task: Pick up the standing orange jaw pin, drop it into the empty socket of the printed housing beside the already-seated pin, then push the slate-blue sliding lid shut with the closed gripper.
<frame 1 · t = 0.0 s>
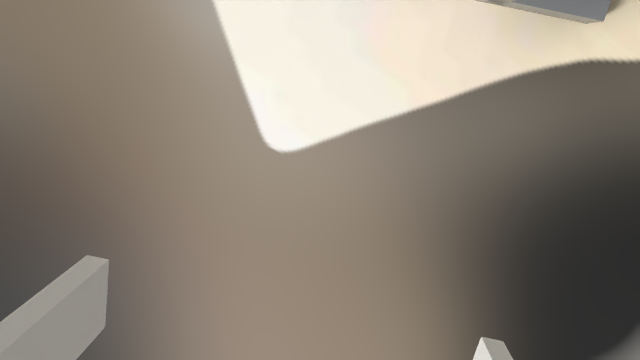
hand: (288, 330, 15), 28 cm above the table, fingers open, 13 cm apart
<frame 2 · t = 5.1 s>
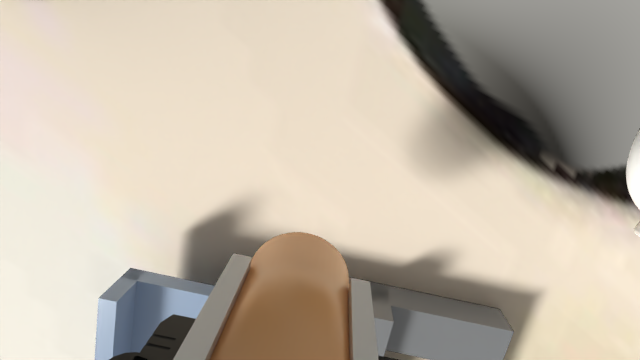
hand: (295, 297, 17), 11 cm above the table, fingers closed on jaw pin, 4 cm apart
jaw pin: (298, 278, 18), point 9 cm above the table, touching gripper
housing: (357, 356, 30), on the table
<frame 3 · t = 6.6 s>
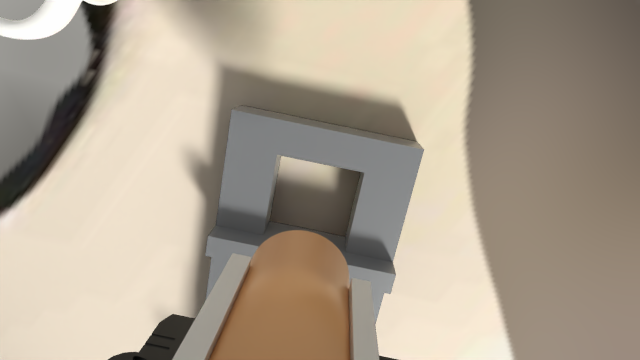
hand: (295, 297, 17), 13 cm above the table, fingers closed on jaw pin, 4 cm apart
jaw pin: (298, 276, 18), point 12 cm above the table, touching gripper
housing: (305, 237, 30), on the table
when the fingers open (3 cm above the table, at t = 8.6 s): jaw pin drops 2 cm, resting in housing.
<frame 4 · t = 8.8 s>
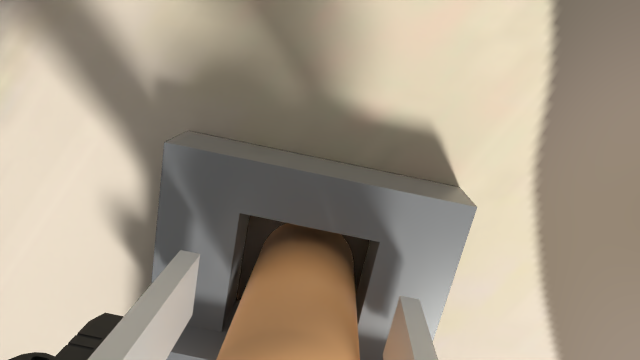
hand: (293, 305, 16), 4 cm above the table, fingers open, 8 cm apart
jaw pin: (306, 263, 20), resting in housing
housing: (289, 323, 21), on the table
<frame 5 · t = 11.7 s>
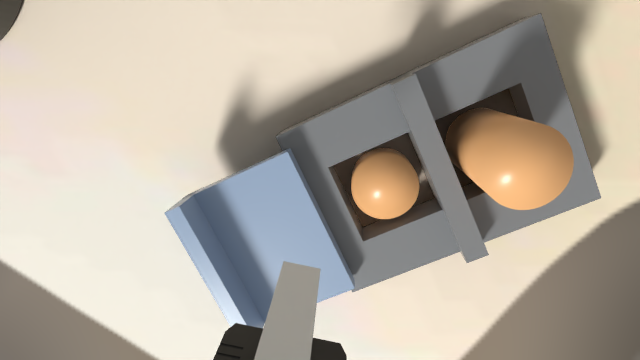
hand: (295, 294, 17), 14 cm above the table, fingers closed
jaw pin: (478, 140, 28), resting in housing
housing: (429, 158, 29), on the table
lid: (266, 248, 27), point 5 cm above the table, slide at 0.0 cm
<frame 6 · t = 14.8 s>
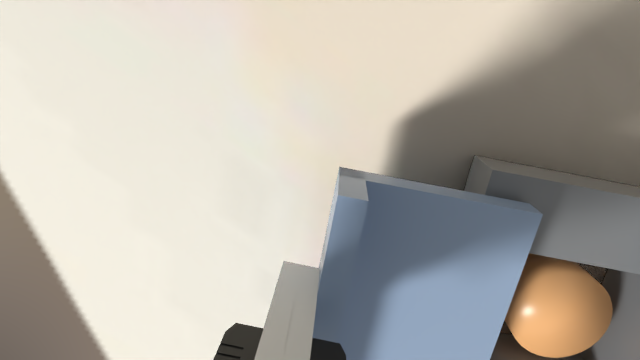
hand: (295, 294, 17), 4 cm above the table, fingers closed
housing: (608, 303, 21), on the table
lid: (410, 317, 16), point 5 cm above the table, slide at 1.1 cm, touching gripper
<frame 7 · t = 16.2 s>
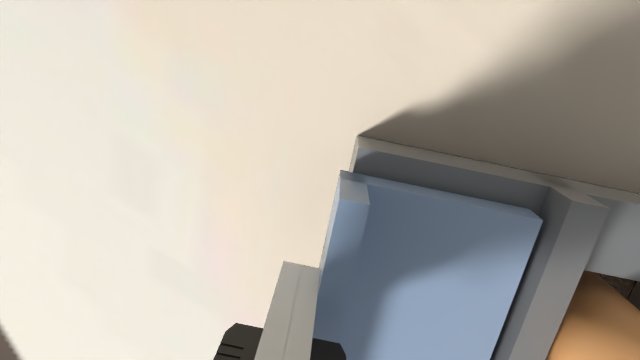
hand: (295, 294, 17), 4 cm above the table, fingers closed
jaw pin: (563, 303, 21), resting in housing
housing: (497, 286, 21), on the table
lid: (409, 321, 16), point 5 cm above the table, slide at 6.6 cm, touching gripper
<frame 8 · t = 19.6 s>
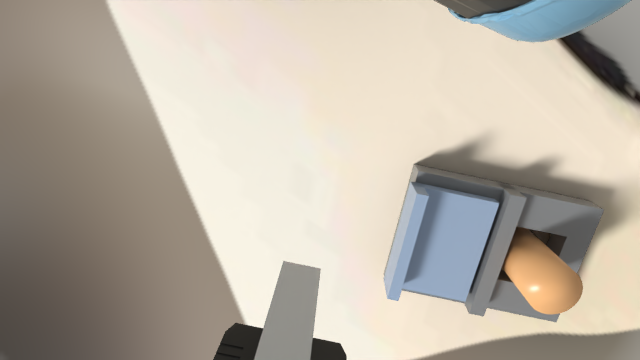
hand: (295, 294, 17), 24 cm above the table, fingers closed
jaw pin: (514, 247, 42), resting in housing
housing: (482, 238, 42), on the table
lid: (441, 248, 37), point 5 cm above the table, slide at 6.6 cm
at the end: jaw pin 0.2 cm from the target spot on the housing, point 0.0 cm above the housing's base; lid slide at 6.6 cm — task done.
